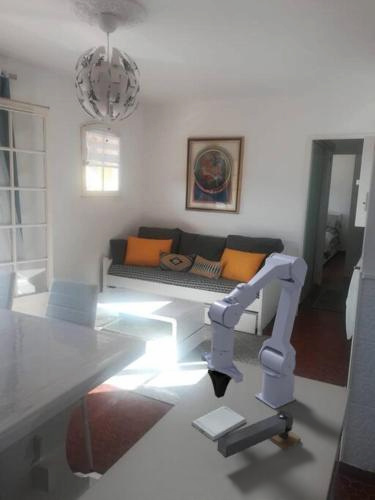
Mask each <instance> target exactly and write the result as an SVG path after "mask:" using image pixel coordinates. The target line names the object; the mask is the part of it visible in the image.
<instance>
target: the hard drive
mask: <svg viewBox="0 0 375 500" xmlns="http://www.w3.org/2000/svg"><path fill="white" fill-rule="evenodd" d="M246 420H247V419H246V418H245V417H244V416H243V415H241V414H239V413H238V412H235V411H234V410H232V409H231V408H229V407H227V406H226V405H223V406H221V407H219V408H216V409H215V410H213V411H210V412H209V413H206V414H205V415H202V416H201V417H199V418H197V419H194V420H193V421H191V426H192V427H194V428H195V429H197V430H198V431H199V432H200V433H202V434H203V435H205V436H206V437H208V438H209V439H210V440H211V441H216V440H218V438H220V437H222V436H225V435H227V433H229V432H231V431H232V430H234V429H236V428H238V427H240V426H241V425H242V424H244V423H246Z"/></svg>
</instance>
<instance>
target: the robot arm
mask: <svg viewBox="0 0 375 500" xmlns="http://www.w3.org/2000/svg"><path fill="white" fill-rule="evenodd" d="M307 271H308V264H307V263H306V261H305V259H304V258H302V257H299V256H298V257H297V256H292V255H288V254H283V253H279V252H273V253H271V254H270V255H269V256H268V257H267V258H265V263H264V266H262V268H261V269H260V270H259V271H258V272H257V273H256V274H254V276H253V277H252V278H251V279H250V280H249V281H248V282H246V283H245V282H241V283H238V284H237V285H236V286H235V288H234V289H233V290H232V291H231V292H229V293H228V294H227V295H226V296H224V297H223V299H219V300H215V301H213V302H212V303H211V305H210V307H209V309H208V311H207V318H208V319H209V320H210V321H209V322H210V326H211V343H210V346H211V347H210V352H208V351H206V352H202V353H201V361H203V362H206V363H207V365H206V366H207V375H208V376H209V377H210V380H211V384H212V387H213V392H214V396H215V398H218V399H220V398H223V397H225V395H226V391H227V388H228V386H229V383H230V382H231V381H232V379H233V380H234V383H236V384H239V383H241V382H243V381H244V373H242V372H241V371H240V370H239V369H238V367H237V366H236V365H235V364H234V362H233V361H234V360H233V359H234V346H235V345H234V344H235V326H236V325H238V324H239V322H240V321H241V320H240V319H241V316H243V314H244V311H245V310H246V309H247V308H249V306H251V305H252V304H253V303H254V302H255V301H256V300H257V294H258V293H259V292H260V291H261V290H263V288H265V287H267V285H269V284H270V283H272V282H273V281H274V280H276V279H277V280H278V281H279V283H280V285H281V286H282V288H281V292H280V298H279V302H278V306H277V309H276V314H275V315H276V316H275V319H274V324H273V329H272V332H271V336H270V338H268V339H266V340H264V341H263V344H262V347H261V349H259V353H258V356H257V358H258V359H257V360H258V361H257V362H258V363H259V364H260V365H261V370H263V373H262V381H261V382H262V384H261V392H258V393H256V394H254V397H255V398H257V399H258V400H260V401H262V403H265V404H266V405H268V406H269V407H271V409H278V408H281V407H282V406H285V405H286V404H288V403H291V402H293V401H295V400H296V397H295V396H294V393H295V391H294V390H295V379H296V378H295V374H294V373H293V372H294V370H295V369H296V354H297V351H296V350H295V348H294V346H293V345H292V344H291V342H290V341H291V336H292V332H293V328H294V322H295V319H296V314H297V310H298V305H299V300H300V297H301V293H302V287H304V285H305V279H306V277H307Z"/></svg>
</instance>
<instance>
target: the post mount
mask: <svg viewBox="0 0 375 500" xmlns="http://www.w3.org/2000/svg"><path fill="white" fill-rule="evenodd" d="M268 440H270V441H271V442H273V443H274V444H276V445H277V446H278V447H279V448H281V449H282V450H283V451H285V450H286V451H287V450H288V449H290V448H292V446H295V445H297V444H298V443H300V442H301V440H302V439H301V437H300V436H299V435H297V434H296V433H294V432H293V431H292V430H291V431H288V432H283V433H281V434H278V435H276V436H274V437H272V438H269V439H268Z"/></svg>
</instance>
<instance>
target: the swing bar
mask: <svg viewBox="0 0 375 500" xmlns="http://www.w3.org/2000/svg"><path fill="white" fill-rule="evenodd" d="M293 424H294V415H293V414H292V413H291V412H289V411H285V410H280V411H278V412H277V413H276V414H273V415H272V416H269V417H267V418H263V419H261V420H260V421H257V422H255V423H252V424H250V425H247V426H245V427H243V428H240V429H238V430H235V431H233V432H230V433H228V434H227V433H226V434H224V435H222V436H220V437H219V438H217V449H216V450H217V451H218V453H220V455H222V457H224V458H225V459H227V458H229V457H231V456H233V455H235V454H238V453H241V452H243V451H245V450H247V449H250V448H251V447H253V446H256V445H258V444H261V443H262V442H265V441H267V440H270V439H269V438H272V437H274V436H276V435H278V434H281V433H283V432H288V431H291V432H292V431H293V428H294V427H293Z"/></svg>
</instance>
